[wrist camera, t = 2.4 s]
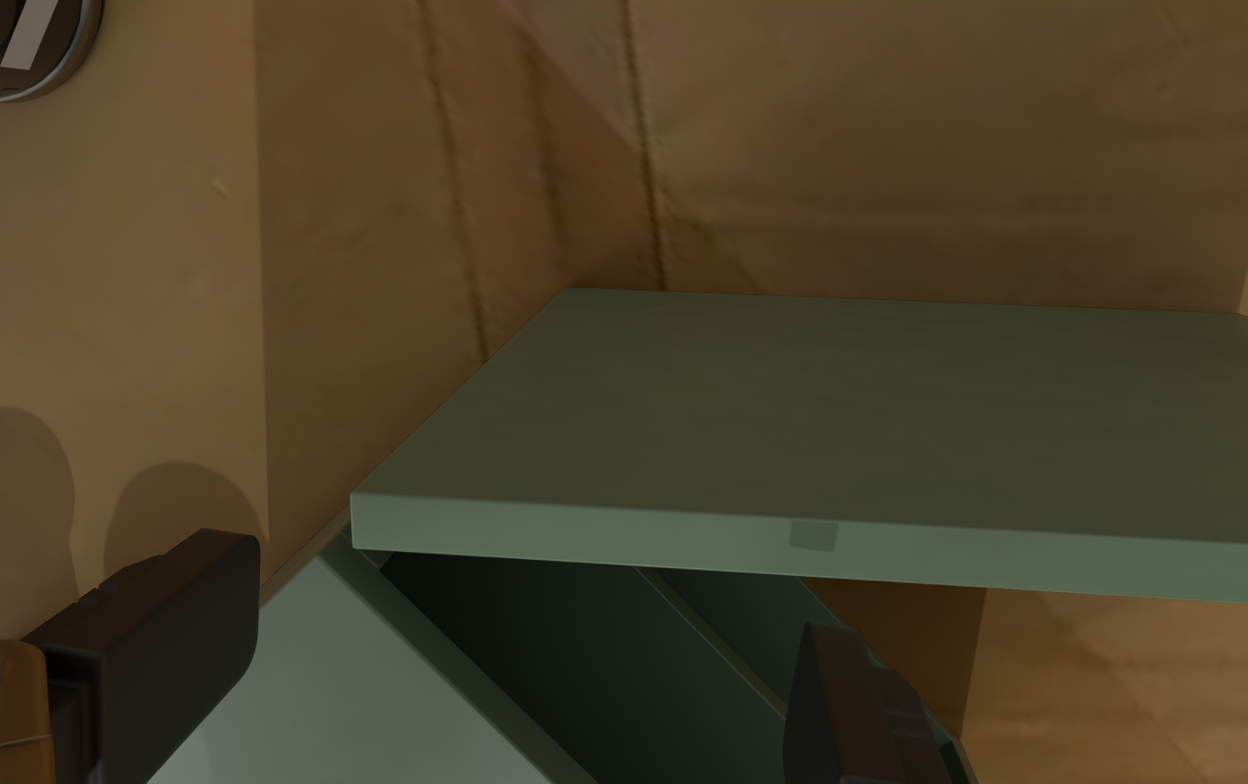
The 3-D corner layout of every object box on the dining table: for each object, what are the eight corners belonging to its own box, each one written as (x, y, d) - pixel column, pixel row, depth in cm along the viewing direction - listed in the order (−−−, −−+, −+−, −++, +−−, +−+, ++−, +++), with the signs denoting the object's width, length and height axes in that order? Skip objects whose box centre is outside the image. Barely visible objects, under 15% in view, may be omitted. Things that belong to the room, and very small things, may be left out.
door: (565, 150, 37) (331, 152, 14) (1267, 171, 35) (2337, 210, 12) (563, 311, 38) (350, 549, 15) (1234, 339, 36) (2126, 659, 14)
